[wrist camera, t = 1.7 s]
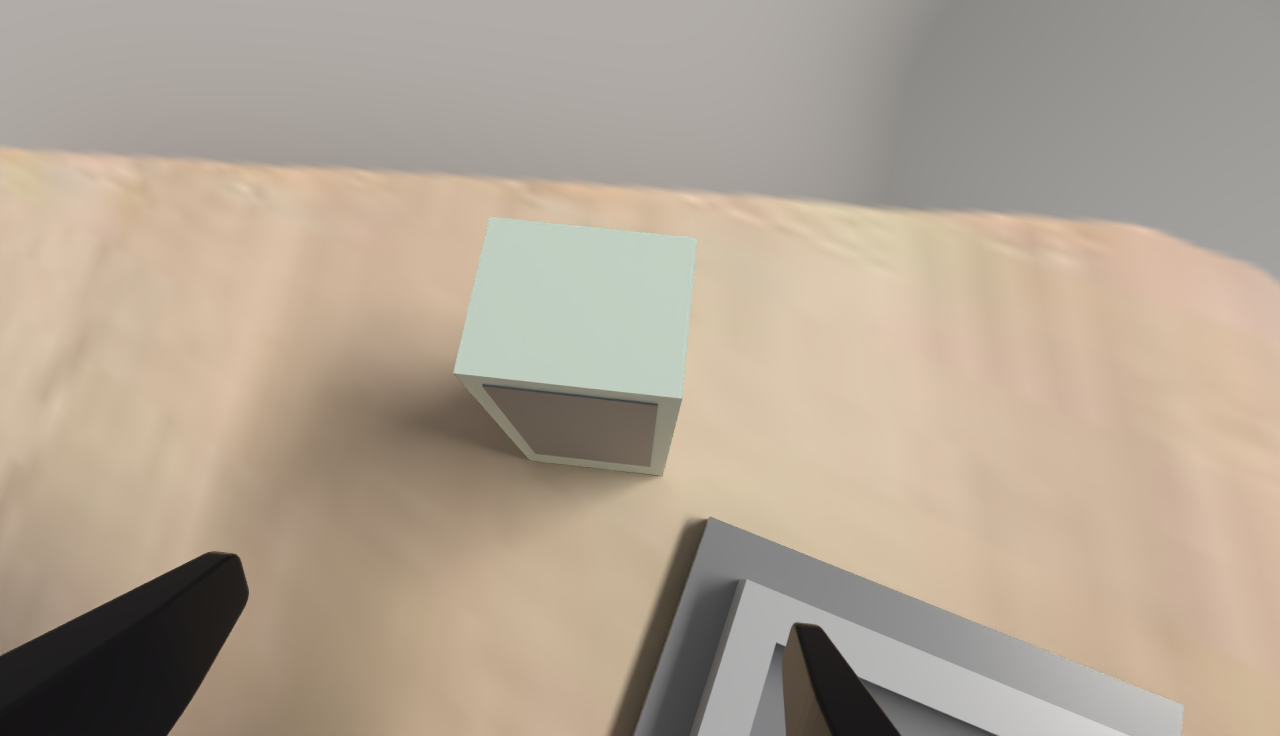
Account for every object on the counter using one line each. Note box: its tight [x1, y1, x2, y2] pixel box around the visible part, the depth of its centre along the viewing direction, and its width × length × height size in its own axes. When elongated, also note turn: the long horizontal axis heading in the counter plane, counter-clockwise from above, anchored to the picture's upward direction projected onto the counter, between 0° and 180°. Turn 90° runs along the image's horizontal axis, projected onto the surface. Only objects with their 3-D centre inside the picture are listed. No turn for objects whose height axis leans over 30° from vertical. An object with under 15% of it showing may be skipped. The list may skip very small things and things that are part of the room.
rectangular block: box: [453, 217, 697, 476], centre depth 18 cm, size 4×5×10 cm
